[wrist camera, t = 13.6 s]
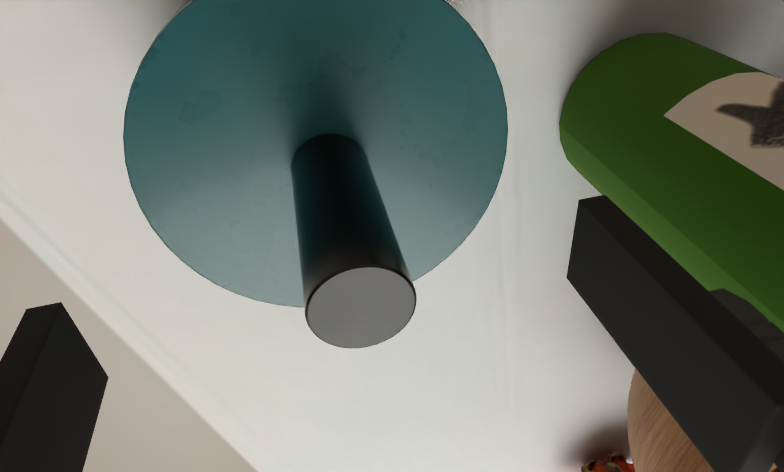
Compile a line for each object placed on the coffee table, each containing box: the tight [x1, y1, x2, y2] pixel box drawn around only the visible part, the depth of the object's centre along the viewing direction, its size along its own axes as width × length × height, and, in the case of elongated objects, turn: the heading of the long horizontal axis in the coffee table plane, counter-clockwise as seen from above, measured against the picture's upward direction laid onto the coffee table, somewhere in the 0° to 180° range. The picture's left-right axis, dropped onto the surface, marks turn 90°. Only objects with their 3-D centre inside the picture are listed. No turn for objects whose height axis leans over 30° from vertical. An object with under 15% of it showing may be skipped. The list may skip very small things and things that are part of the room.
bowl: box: [627, 369, 781, 472], centre depth 38 cm, size 25×25×15 cm
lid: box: [123, 0, 508, 348], centre depth 16 cm, size 14×14×9 cm
